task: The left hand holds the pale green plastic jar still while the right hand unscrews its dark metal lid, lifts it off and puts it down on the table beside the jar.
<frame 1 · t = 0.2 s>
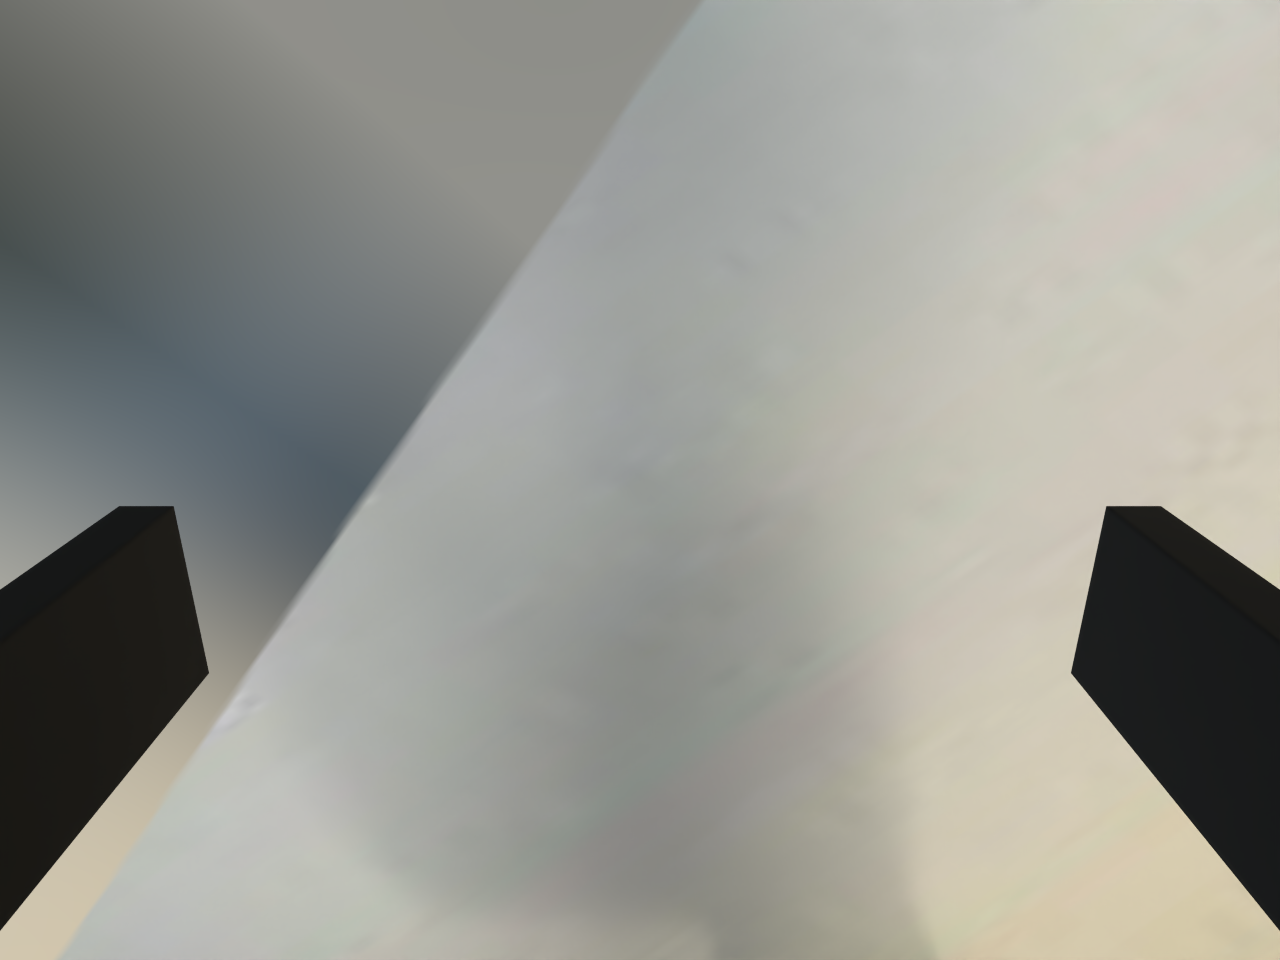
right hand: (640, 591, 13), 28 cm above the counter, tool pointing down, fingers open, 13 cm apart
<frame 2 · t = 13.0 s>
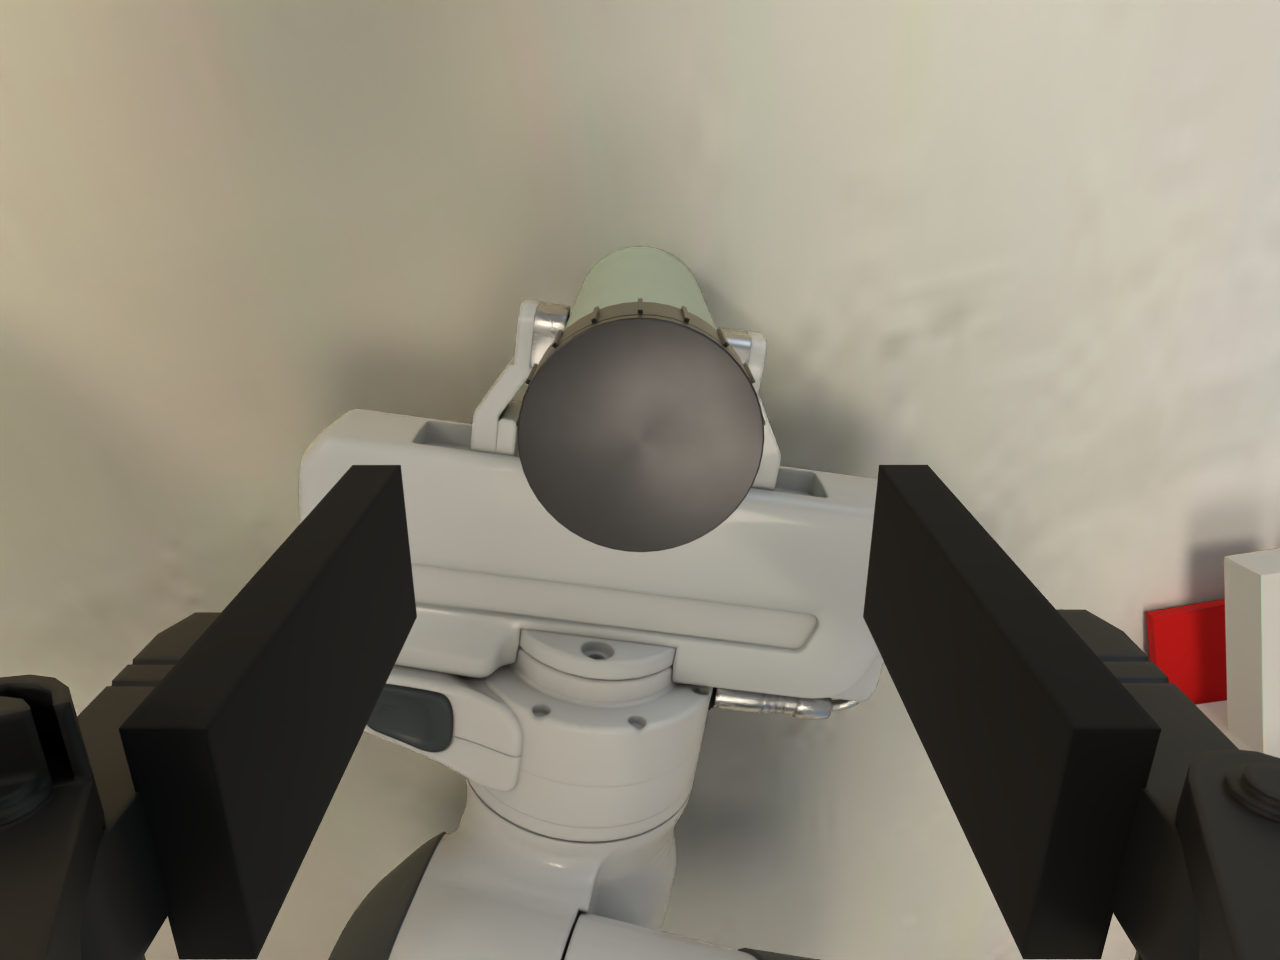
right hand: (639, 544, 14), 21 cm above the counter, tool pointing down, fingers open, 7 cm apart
left hand: (643, 318, 27), fingers closed on jar, 5 cm apart
jar: (640, 311, 33), on the counter, touching left hand
toy: (1228, 794, 41), on the counter
lid: (640, 436, 19), point 15 cm above the counter, screwed on, not yet turned
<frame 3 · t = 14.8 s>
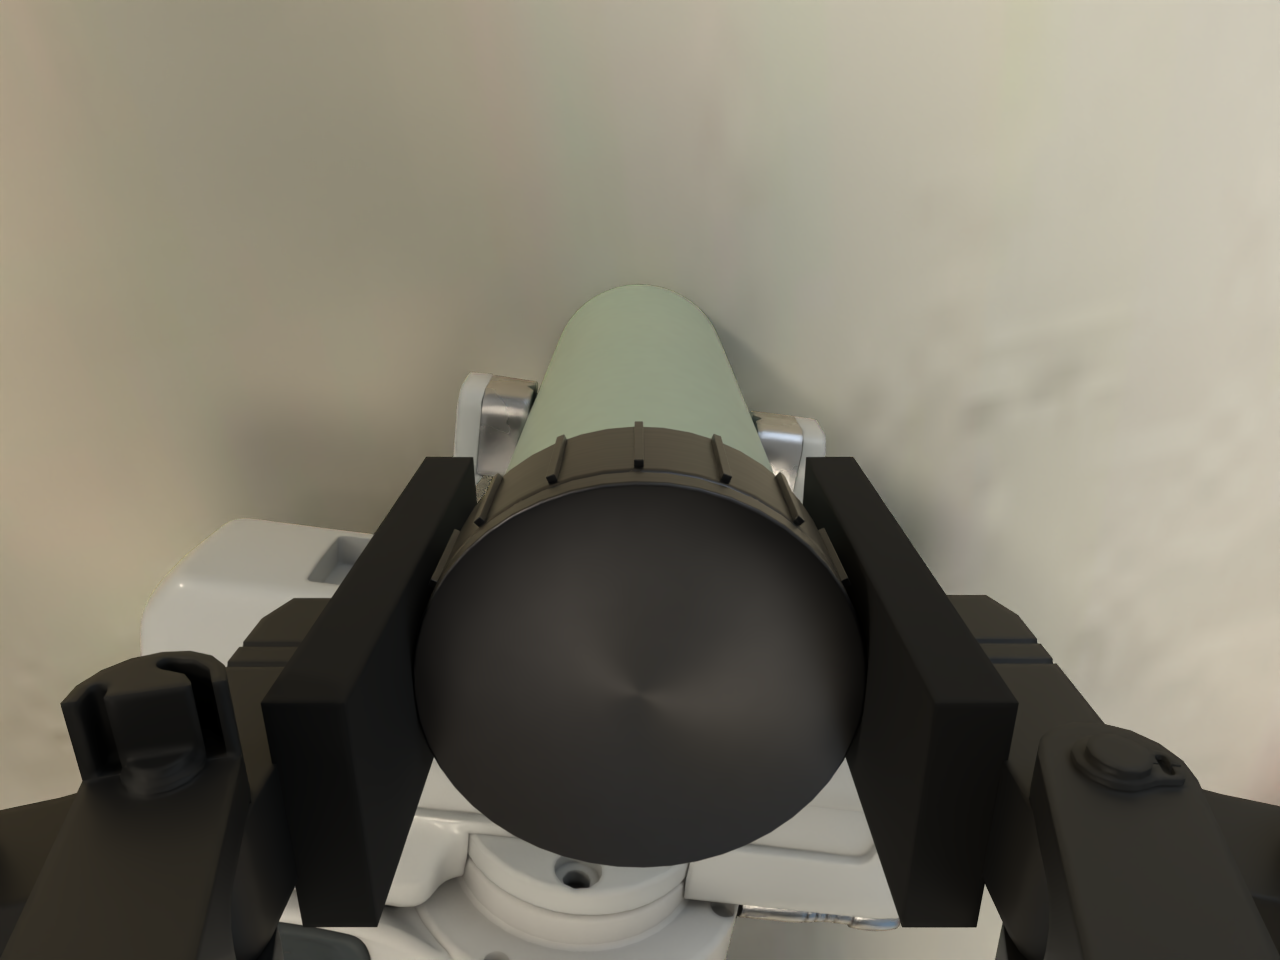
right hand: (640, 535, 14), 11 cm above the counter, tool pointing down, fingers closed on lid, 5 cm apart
jar: (639, 370, 25), on the counter, touching left hand
lid: (639, 676, 11), point 15 cm above the counter, screwed on, not yet turned, touching right hand
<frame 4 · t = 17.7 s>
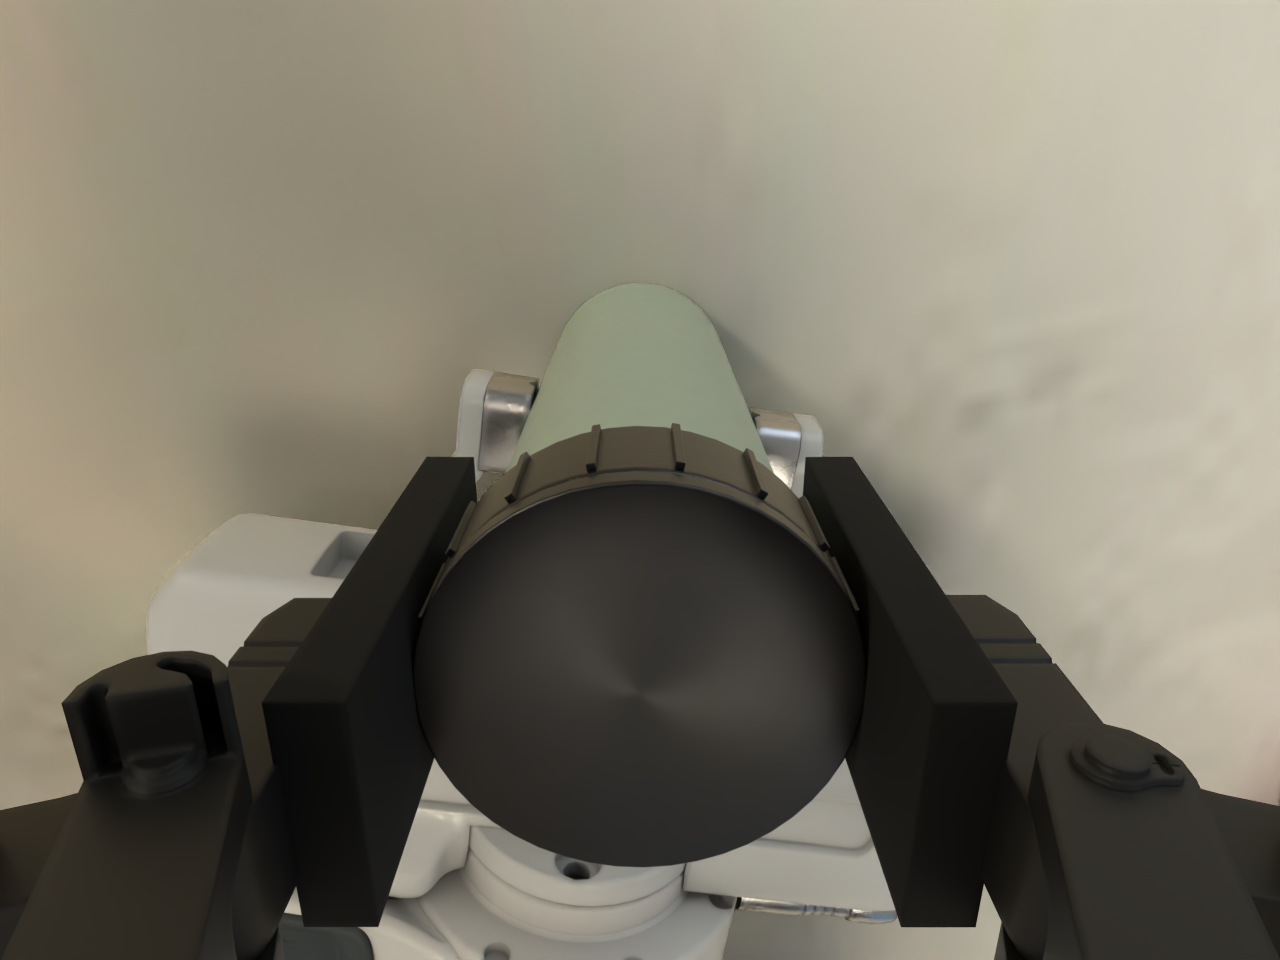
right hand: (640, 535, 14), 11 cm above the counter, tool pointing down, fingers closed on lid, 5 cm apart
jar: (639, 367, 25), on the counter, touching left hand
lid: (639, 676, 10), point 15 cm above the counter, turned 75° so far, risen 0.2 cm, still on its thread, touching right hand
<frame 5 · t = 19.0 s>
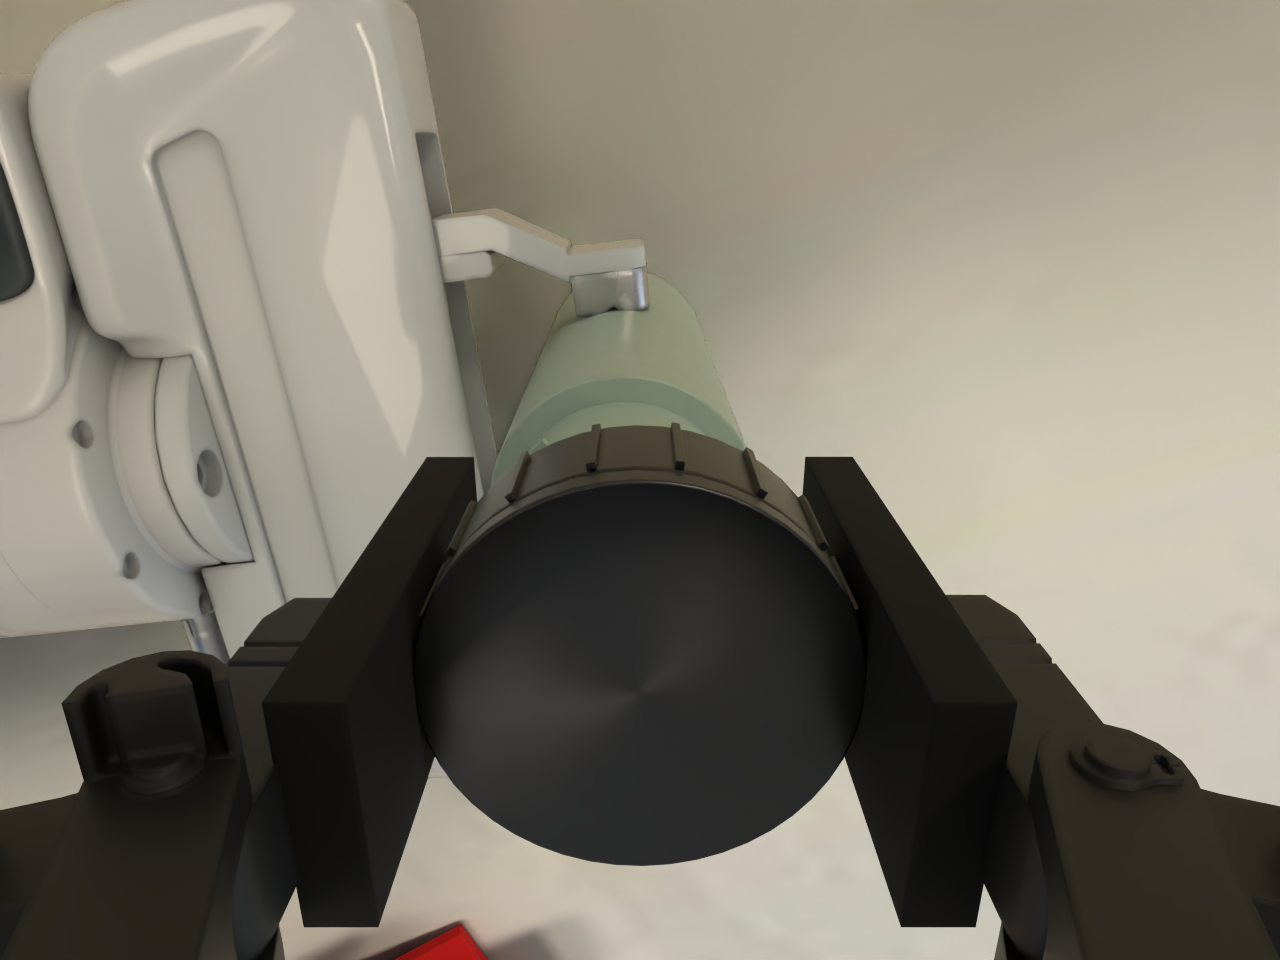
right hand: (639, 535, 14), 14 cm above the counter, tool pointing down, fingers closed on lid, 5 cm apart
jar: (626, 345, 28), on the counter, touching left hand
lid: (639, 675, 11), point 19 cm above the counter, off its thread, touching right hand
when the right hand's fingers open (0 cm above the counter, at t = 23.1 s): lid stays where it is, point 2 cm above the counter.
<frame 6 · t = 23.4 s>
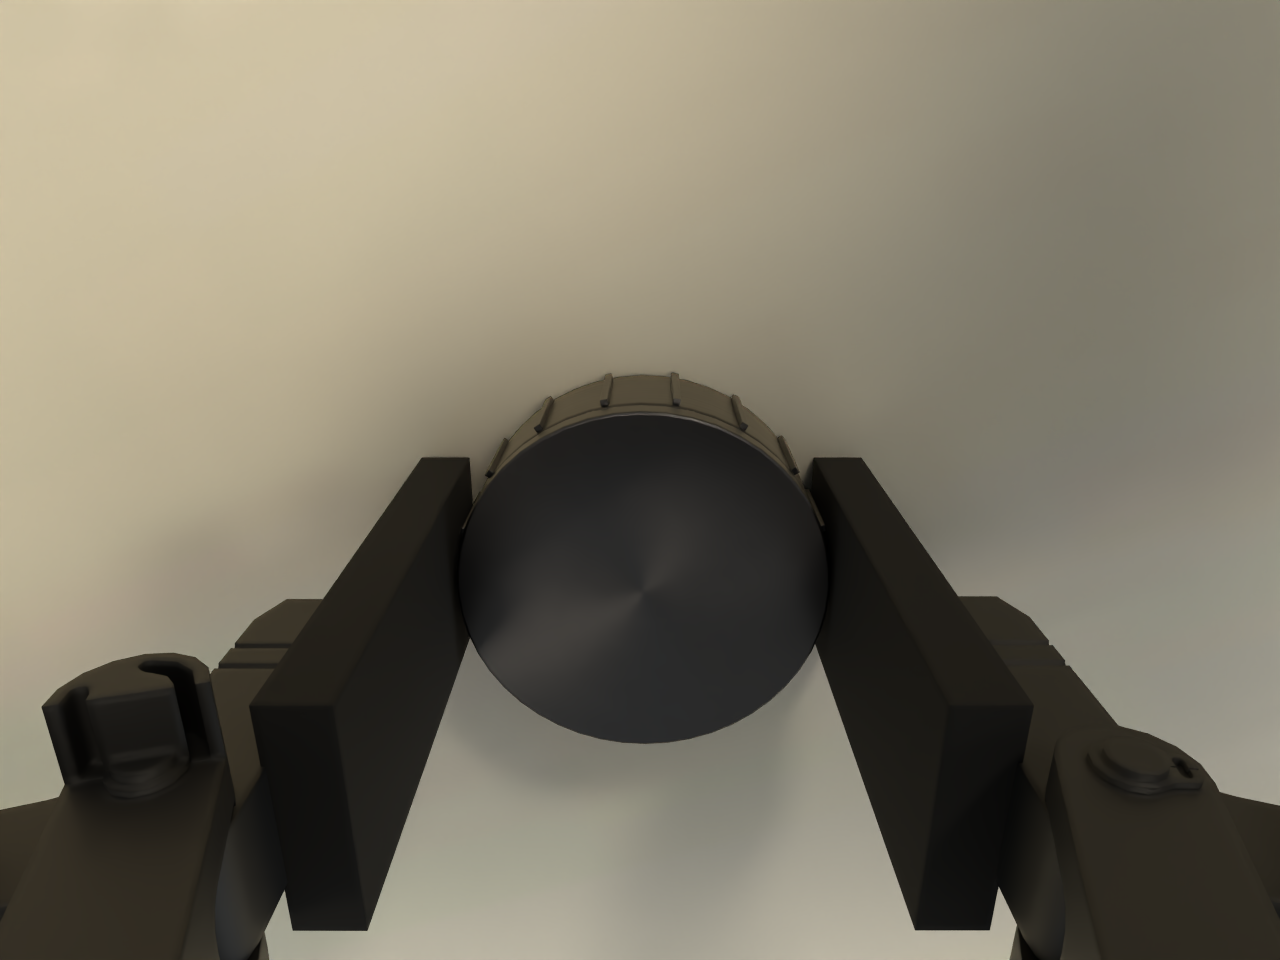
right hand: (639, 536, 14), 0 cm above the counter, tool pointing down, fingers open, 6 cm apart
lid: (643, 579, 13), point 2 cm above the counter, off its thread
when the left hand's fingers open (6 cm above the counter, at t = 24.8 s): jar stays where it is, on the counter.
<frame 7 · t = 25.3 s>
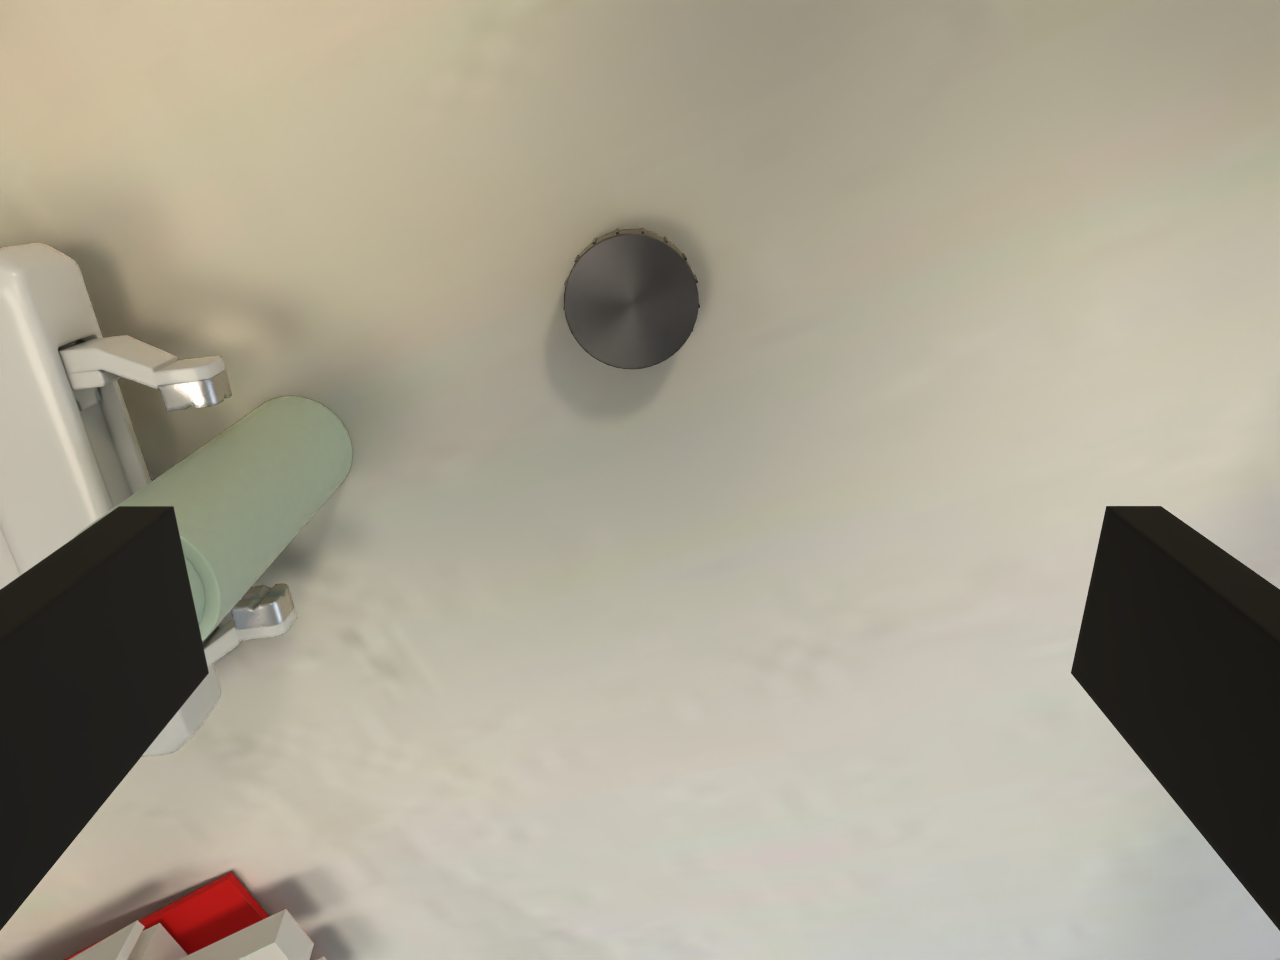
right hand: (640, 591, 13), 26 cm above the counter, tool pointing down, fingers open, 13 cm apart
jar: (298, 447, 39), on the counter
lid: (631, 302, 35), point 2 cm above the counter, off its thread
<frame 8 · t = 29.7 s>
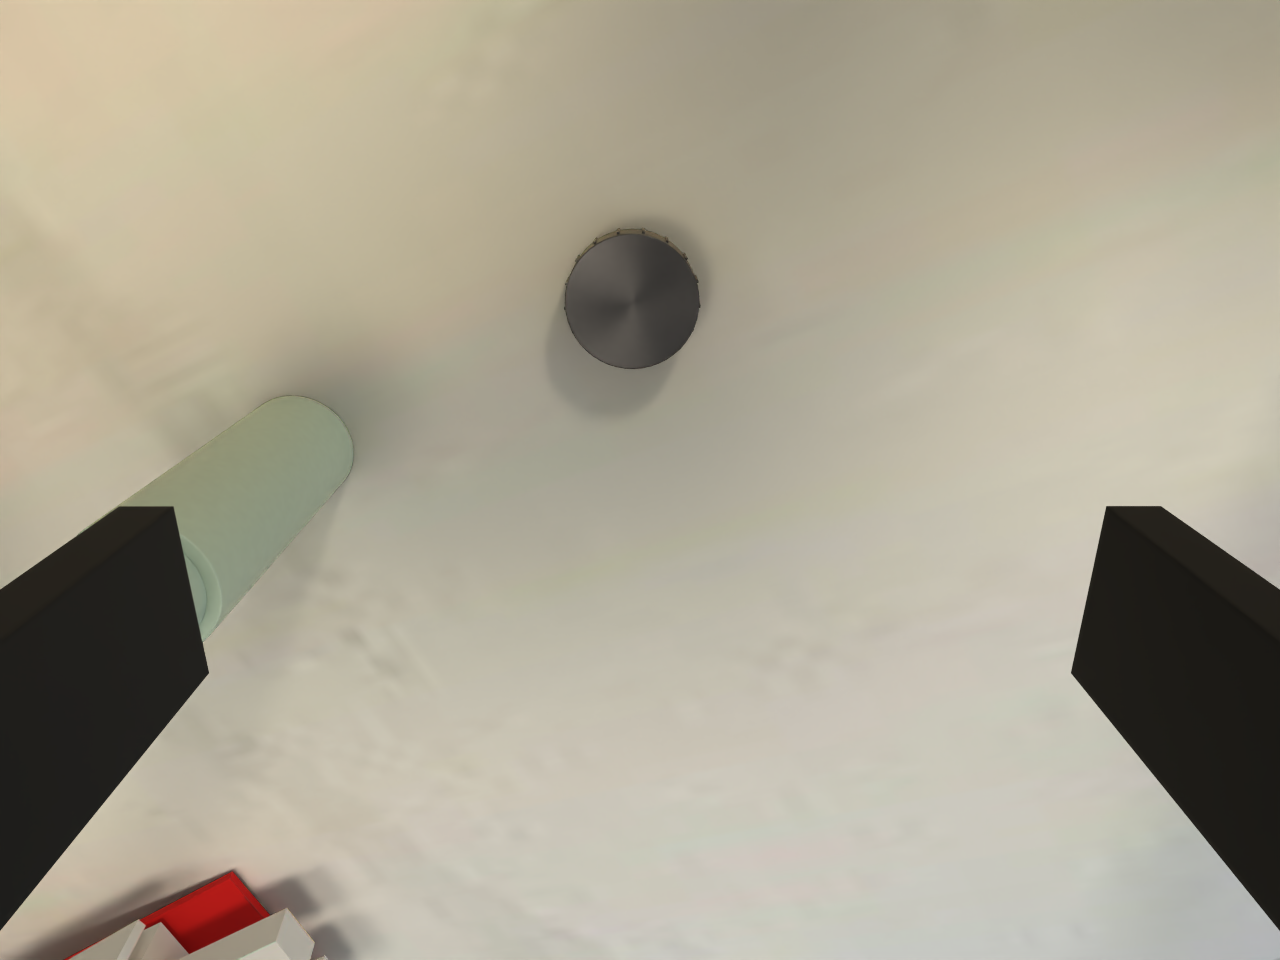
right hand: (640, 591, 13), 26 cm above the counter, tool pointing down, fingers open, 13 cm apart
jar: (299, 447, 39), on the counter
lid: (632, 301, 35), point 2 cm above the counter, off its thread
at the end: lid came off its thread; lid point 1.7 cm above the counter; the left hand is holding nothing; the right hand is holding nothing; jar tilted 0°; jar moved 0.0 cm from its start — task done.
